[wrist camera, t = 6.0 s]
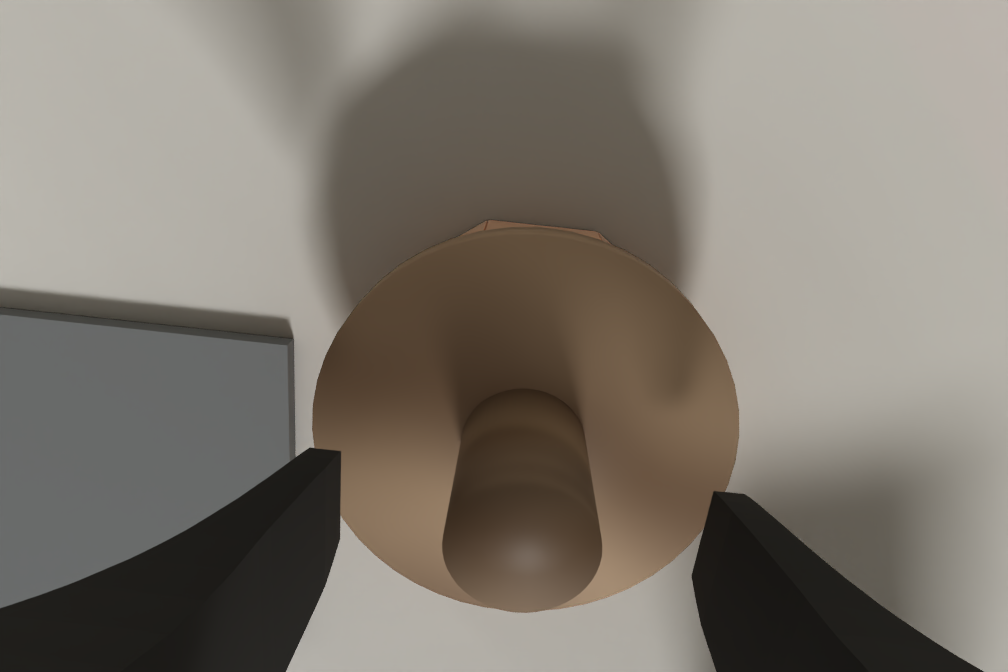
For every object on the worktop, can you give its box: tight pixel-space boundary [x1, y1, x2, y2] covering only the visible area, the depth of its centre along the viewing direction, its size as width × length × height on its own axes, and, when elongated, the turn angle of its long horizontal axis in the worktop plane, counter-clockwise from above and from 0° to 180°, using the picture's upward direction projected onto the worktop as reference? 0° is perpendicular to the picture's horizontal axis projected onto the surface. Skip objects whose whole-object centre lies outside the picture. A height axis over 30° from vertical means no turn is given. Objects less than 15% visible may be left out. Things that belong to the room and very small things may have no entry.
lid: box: [312, 227, 739, 613], centre depth 13 cm, size 10×10×4 cm
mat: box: [0, 307, 295, 608], centre depth 20 cm, size 11×11×1 cm
